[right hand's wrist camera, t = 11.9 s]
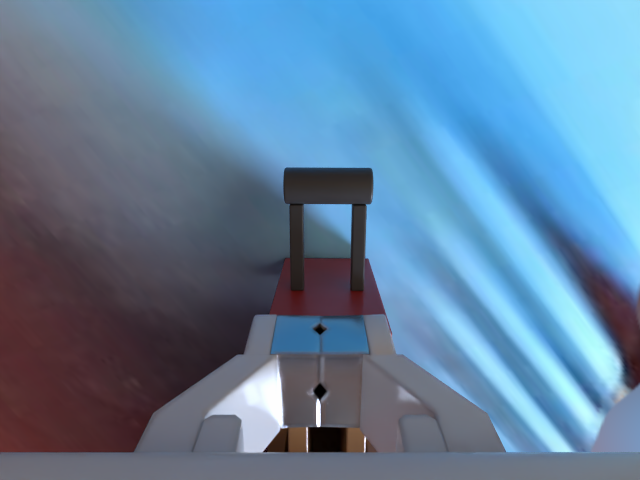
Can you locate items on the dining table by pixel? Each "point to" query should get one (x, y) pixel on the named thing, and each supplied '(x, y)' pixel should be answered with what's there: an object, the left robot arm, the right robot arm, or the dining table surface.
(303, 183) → the drawer
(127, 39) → the dining table surface
